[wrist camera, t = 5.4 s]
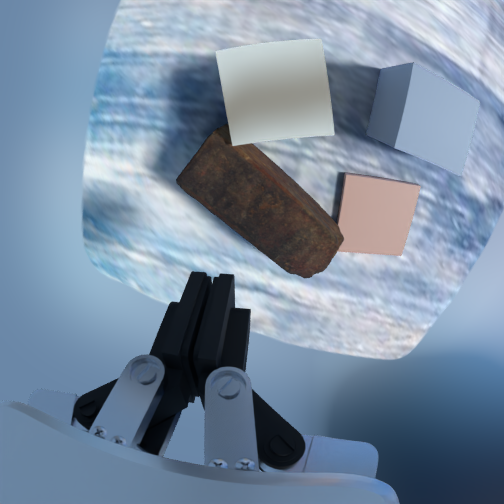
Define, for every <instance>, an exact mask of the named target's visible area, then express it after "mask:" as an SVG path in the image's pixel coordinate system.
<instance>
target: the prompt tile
mask: <svg viewBox="0 0 504 504" xmlns="http://www.w3.org/2000/svg"><path fill="white" fill-rule="evenodd" d="M420 187H421V186H420V185H418V184H415V183H409V182H404V181H398V180H392V179H386V178H380V177H374V176H367V175H360V174H352V173H345V174H344V181H343V188H342V194H341V200H340V207H339V212H338V218H337V225H338V226H339V228H340V232H341V233H342V235H343V237H344V241H343V242H342V244H341V246H340V247H339V250H338V251H339V252H354V253H368V254H382V255H396V256H401V255H402V252H403V249H404V246H405V243H406V240H407V236H408V233H409V229H410V226H411V222H412V219H413V215H414V211H415V207H416V203H417V199H418V195H419V191H420Z"/></svg>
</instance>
